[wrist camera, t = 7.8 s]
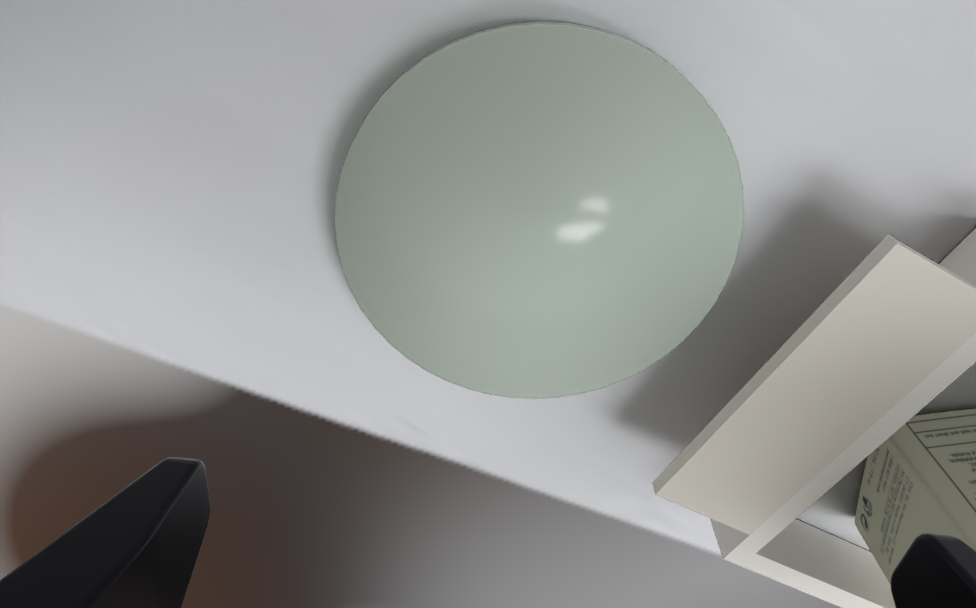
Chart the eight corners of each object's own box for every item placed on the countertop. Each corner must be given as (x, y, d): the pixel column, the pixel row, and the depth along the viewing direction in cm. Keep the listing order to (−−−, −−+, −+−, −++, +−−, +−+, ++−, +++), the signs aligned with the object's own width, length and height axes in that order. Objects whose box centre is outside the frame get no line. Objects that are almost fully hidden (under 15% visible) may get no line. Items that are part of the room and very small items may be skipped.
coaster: (822, 155, 15) (834, 165, 14) (593, 430, 19) (596, 445, 18) (449, -72, 13) (447, -70, 12) (284, 294, 17) (277, 307, 16)
